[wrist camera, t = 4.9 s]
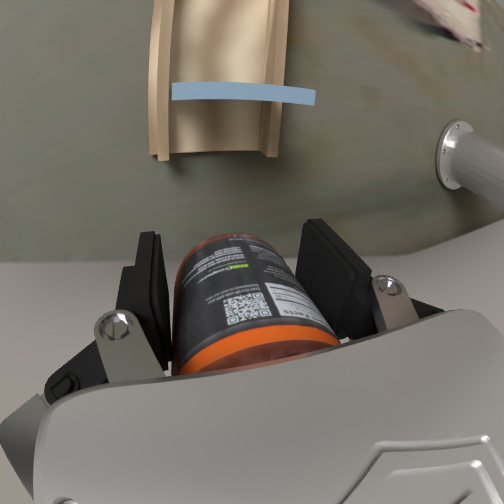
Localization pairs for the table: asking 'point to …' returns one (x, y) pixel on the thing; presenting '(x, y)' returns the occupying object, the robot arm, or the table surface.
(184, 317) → the supplement bottle
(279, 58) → the lane tray
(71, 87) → the table surface
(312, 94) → the pusher plate
